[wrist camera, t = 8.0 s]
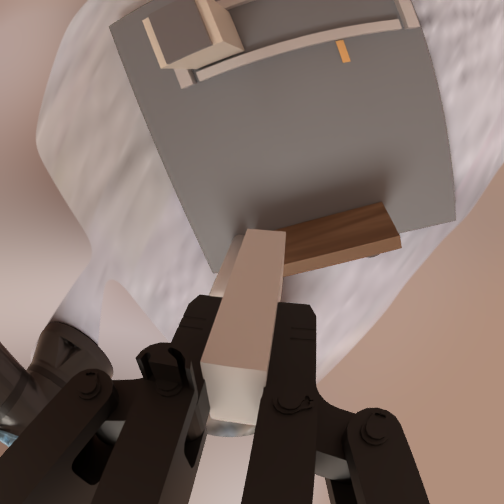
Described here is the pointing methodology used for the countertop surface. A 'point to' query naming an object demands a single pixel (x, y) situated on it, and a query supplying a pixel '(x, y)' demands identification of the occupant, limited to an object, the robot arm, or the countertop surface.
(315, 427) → the robot arm
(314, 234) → the door
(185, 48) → the fader knob
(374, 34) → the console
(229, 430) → the countertop surface
